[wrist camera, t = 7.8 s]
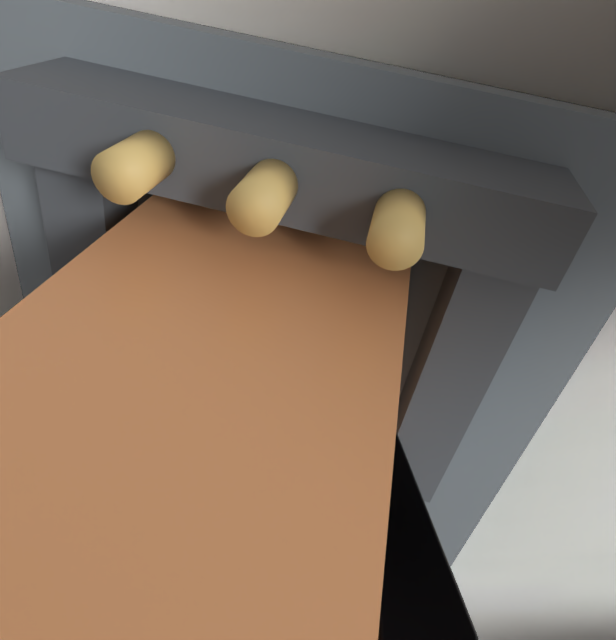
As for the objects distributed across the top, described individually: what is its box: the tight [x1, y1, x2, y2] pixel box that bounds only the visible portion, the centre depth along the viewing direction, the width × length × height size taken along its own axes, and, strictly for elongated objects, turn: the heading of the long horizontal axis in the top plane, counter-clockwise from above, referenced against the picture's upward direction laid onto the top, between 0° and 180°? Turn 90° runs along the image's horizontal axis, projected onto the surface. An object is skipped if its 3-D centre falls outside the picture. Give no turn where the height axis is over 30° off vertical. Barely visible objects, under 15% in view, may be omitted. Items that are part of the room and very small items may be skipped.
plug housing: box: [0, 195, 411, 640], centre depth 7 cm, size 5×5×7 cm
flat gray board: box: [0, 0, 616, 567], centre depth 11 cm, size 14×12×3 cm
